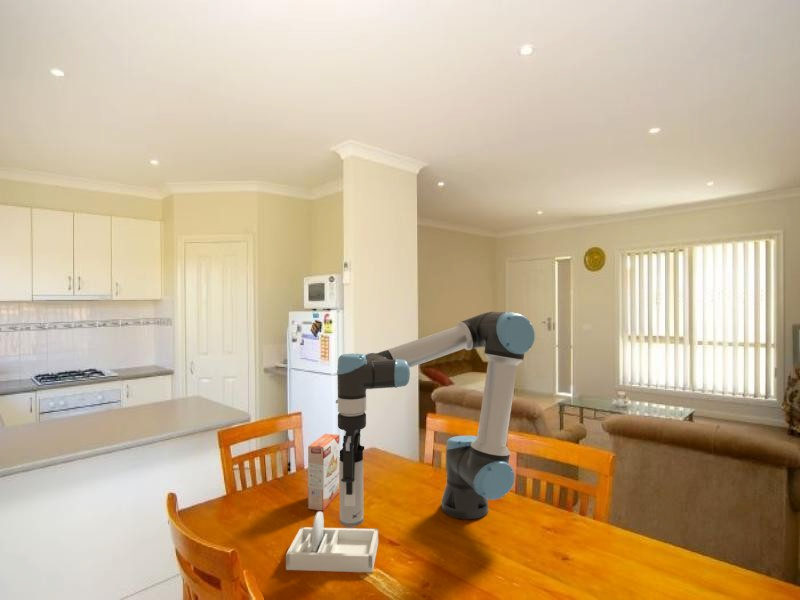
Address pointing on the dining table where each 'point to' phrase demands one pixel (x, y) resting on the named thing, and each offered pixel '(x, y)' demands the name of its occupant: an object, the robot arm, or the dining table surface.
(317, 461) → the cracker box
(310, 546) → the rack
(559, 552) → the dining table surface
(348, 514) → the travel mug
